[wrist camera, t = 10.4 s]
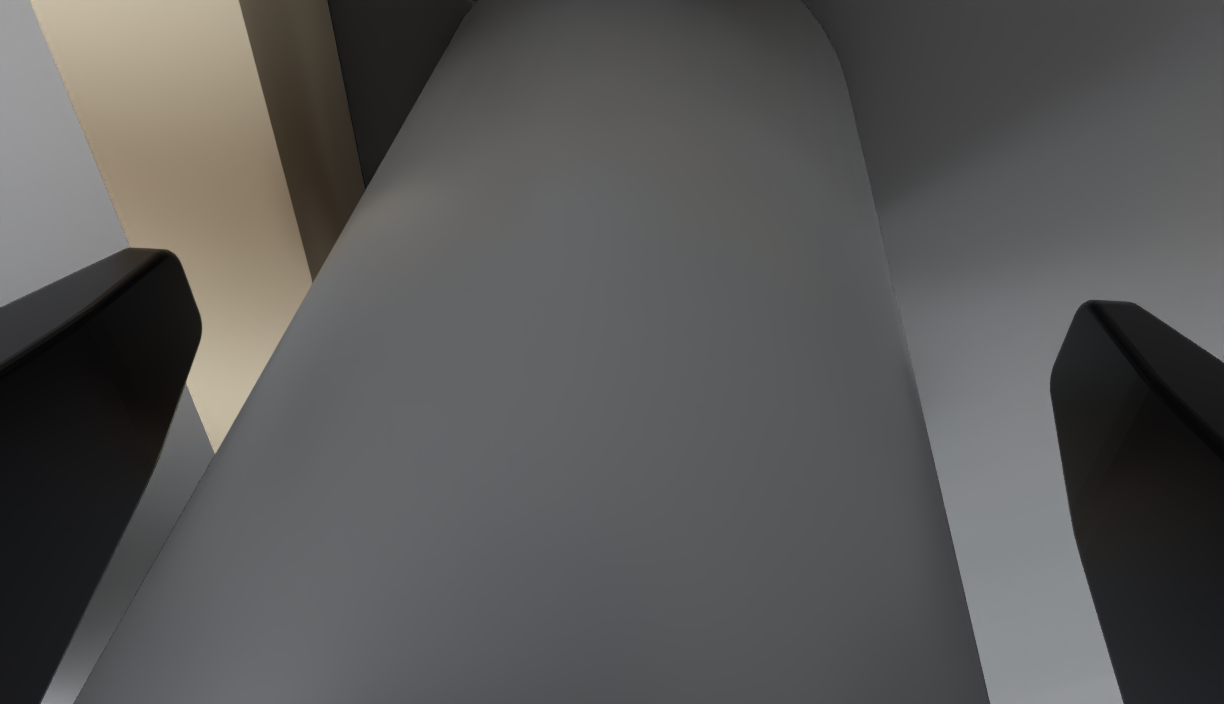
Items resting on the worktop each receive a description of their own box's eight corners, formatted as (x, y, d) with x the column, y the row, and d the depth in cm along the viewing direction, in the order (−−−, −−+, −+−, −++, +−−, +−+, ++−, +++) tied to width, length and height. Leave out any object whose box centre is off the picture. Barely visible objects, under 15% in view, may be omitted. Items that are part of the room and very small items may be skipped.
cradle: (759, 470, 15) (762, 575, 13) (296, 439, 15) (248, 537, 14) (901, -459, 7) (946, -463, 6) (10, -457, 8) (-158, -458, 6)
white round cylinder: (818, 323, 13) (928, 1220, 6) (457, 301, 13) (160, 1123, 6) (890, -63, 9) (1332, 952, 3) (405, -77, 10) (-342, 779, 3)
